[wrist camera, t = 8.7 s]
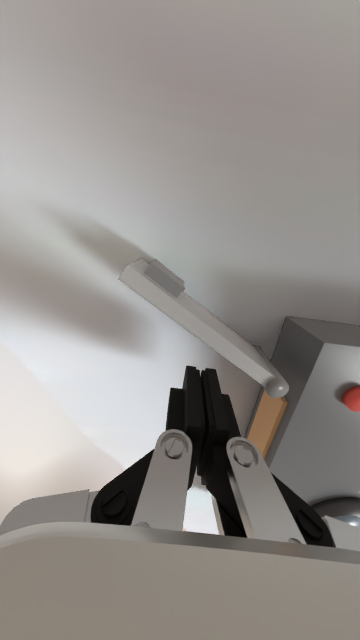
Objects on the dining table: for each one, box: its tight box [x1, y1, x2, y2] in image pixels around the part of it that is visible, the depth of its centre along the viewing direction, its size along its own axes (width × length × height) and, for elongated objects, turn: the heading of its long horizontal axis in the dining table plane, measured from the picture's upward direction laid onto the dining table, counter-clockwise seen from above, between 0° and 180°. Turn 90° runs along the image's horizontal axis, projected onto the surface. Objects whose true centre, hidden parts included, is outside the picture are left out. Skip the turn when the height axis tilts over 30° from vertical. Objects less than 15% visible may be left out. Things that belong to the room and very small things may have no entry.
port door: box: [118, 259, 289, 398], centre depth 11 cm, size 2×11×4 cm, turn 52°
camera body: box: [245, 316, 360, 528], centre depth 15 cm, size 12×20×4 cm, turn 173°
